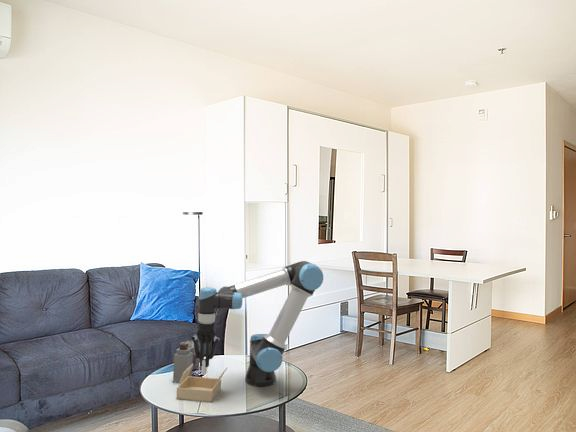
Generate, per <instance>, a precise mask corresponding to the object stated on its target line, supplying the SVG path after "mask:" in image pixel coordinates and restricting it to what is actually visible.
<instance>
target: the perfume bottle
mask: <svg viewBox="0 0 576 432" xmlns="http://www.w3.org/2000/svg"><path fill="white" fill-rule="evenodd" d="M178 347H179V348H177V349H176V351H175V352H176V353H174V354H173V373H172V374H173V376H172V378H173V379H172V383H174V384H179V382H180V380H181V377H182V375H183V373H184V372H185V371H186V370H187V369H188V368H189V367H190V366H191V365H192V359H193V352H190V350H191V348H188V344H186V343H182V342H180V344H179V346H178ZM189 376H192V377H193V370H192V369H191V371H190V374H189Z"/></svg>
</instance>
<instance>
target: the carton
mask: <svg viewBox="0 0 576 432" xmlns="http://www.w3.org/2000/svg"><path fill="white" fill-rule="evenodd" d="M217 380H218V378H215V377H214V378H212V377H201V376H193V375H192V376H188V377H187V378H186V379H185V380H184V381H183V382H182V383H181V384H180V385H179V384H178V386H177V387H176V398H175V399H176V400H181V401H182V400H183V401H194V402H202V403H213V402H214V400H215V398H216V397H217V395H219V393H220V391H221V390H222V378H221V379H220V380H219V381H218V383H217V384H216V385H215V383H216V382H217ZM214 385H215V387H214V388H213V386H214Z"/></svg>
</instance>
